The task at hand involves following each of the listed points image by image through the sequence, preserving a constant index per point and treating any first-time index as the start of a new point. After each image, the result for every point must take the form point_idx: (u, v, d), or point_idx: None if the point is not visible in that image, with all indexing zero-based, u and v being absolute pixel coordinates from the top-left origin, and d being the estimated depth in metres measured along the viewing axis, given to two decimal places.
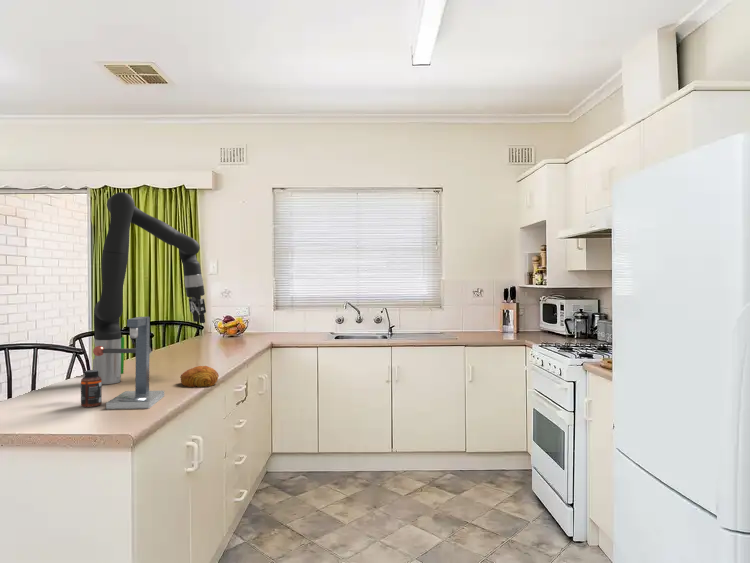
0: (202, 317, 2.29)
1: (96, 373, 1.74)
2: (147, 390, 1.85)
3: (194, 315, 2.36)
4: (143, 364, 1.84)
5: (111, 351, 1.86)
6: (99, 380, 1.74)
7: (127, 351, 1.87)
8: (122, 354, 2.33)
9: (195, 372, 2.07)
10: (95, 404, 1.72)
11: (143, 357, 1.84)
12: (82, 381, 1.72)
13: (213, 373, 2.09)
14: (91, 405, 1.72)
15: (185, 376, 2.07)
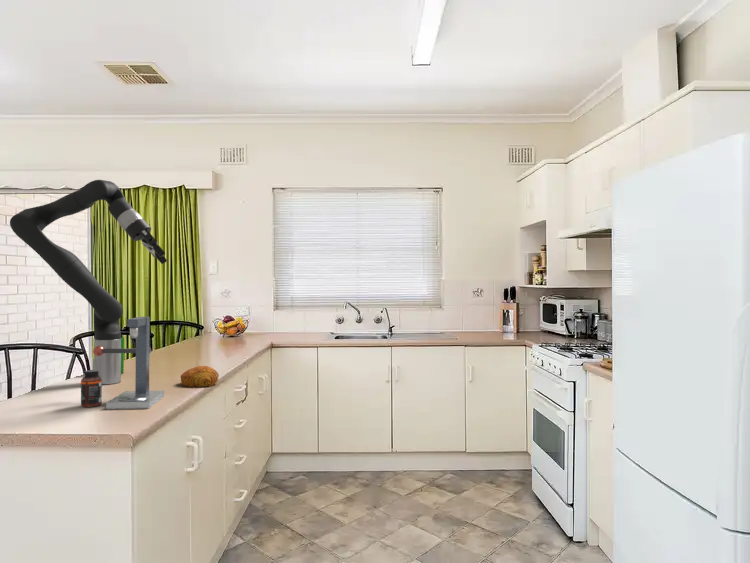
0: (157, 248, 1.87)
1: (96, 373, 1.74)
2: (147, 390, 1.85)
3: (158, 257, 1.95)
4: (143, 364, 1.84)
5: (111, 351, 1.86)
6: (99, 380, 1.74)
7: (127, 351, 1.87)
8: (122, 354, 2.33)
9: (195, 372, 2.07)
10: (95, 404, 1.72)
11: (143, 357, 1.84)
12: (82, 381, 1.72)
13: (213, 373, 2.09)
14: (91, 405, 1.72)
15: (185, 376, 2.07)
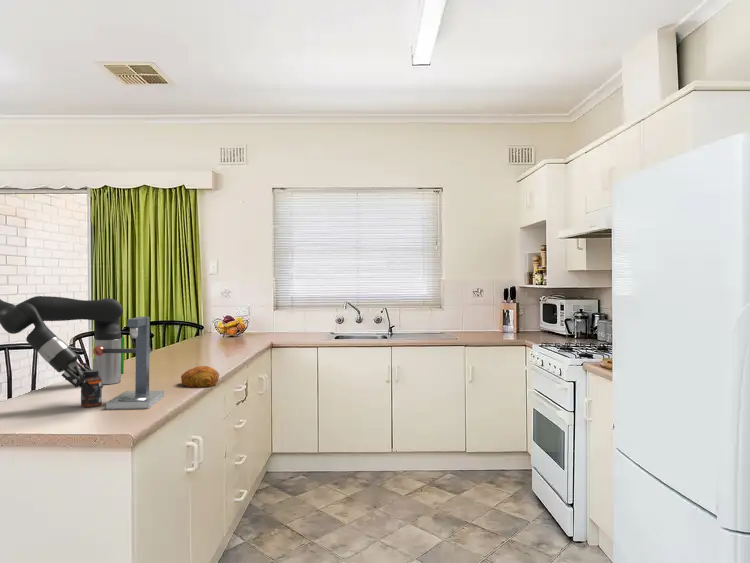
0: (85, 388, 1.70)
1: (96, 373, 1.74)
2: (147, 390, 1.85)
3: None
4: (143, 364, 1.84)
5: (111, 351, 1.86)
6: (99, 380, 1.74)
7: (127, 351, 1.87)
8: (122, 354, 2.33)
9: (196, 372, 2.07)
10: (95, 404, 1.72)
11: (143, 357, 1.84)
12: None
13: (214, 373, 2.09)
14: (91, 405, 1.72)
15: (186, 376, 2.07)
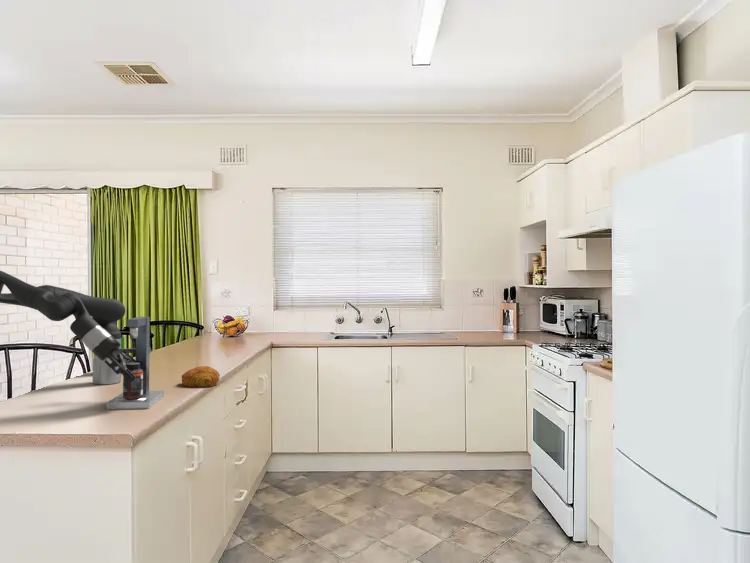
0: (126, 375, 1.71)
1: (138, 366, 1.75)
2: (147, 390, 1.85)
3: None
4: (143, 364, 1.84)
5: None
6: (141, 373, 1.75)
7: (127, 351, 1.87)
8: None
9: (196, 372, 2.07)
10: (137, 396, 1.74)
11: (143, 357, 1.84)
12: None
13: (214, 373, 2.09)
14: (133, 397, 1.73)
15: (186, 376, 2.06)
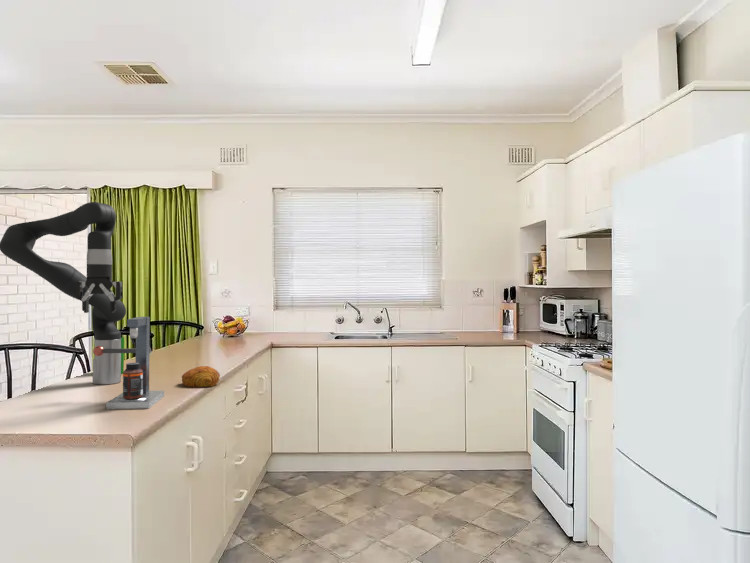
0: (115, 305, 1.79)
1: (138, 366, 1.75)
2: (147, 390, 1.85)
3: (86, 304, 1.77)
4: (143, 364, 1.84)
5: (111, 351, 1.86)
6: (141, 372, 1.75)
7: (127, 351, 1.87)
8: (122, 354, 2.33)
9: (196, 372, 2.07)
10: (137, 396, 1.74)
11: (143, 357, 1.84)
12: (124, 373, 1.73)
13: (214, 373, 2.09)
14: (133, 397, 1.73)
15: (186, 376, 2.06)
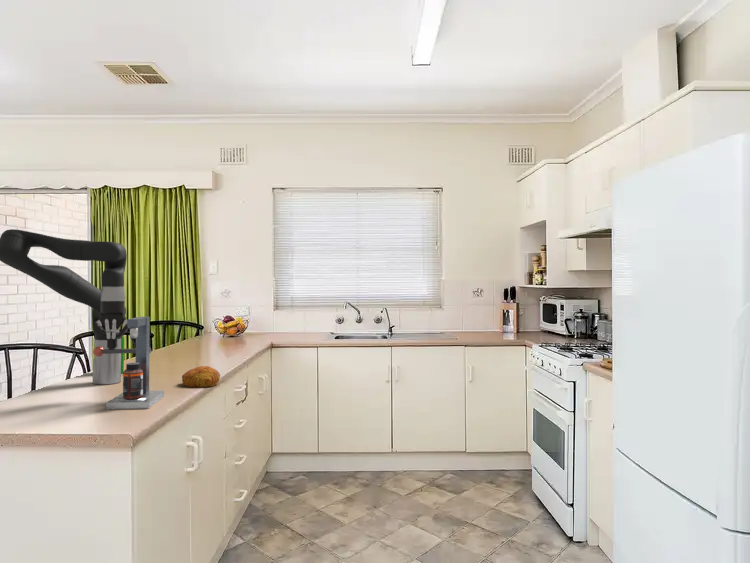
0: (116, 342, 1.87)
1: (138, 366, 1.75)
2: (147, 390, 1.85)
3: None
4: (143, 364, 1.84)
5: (111, 351, 1.86)
6: (141, 373, 1.75)
7: (127, 351, 1.87)
8: (122, 354, 2.33)
9: (196, 372, 2.07)
10: (137, 396, 1.74)
11: (143, 357, 1.84)
12: (125, 373, 1.73)
13: (214, 373, 2.09)
14: (133, 397, 1.73)
15: (186, 376, 2.06)
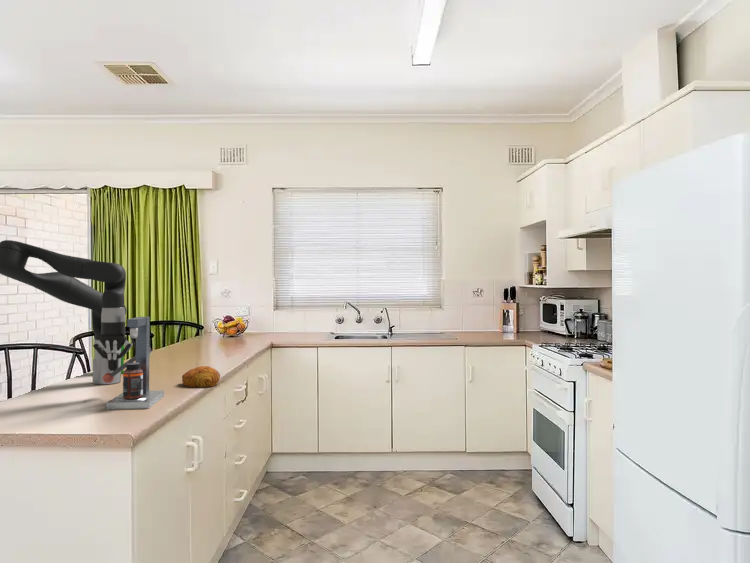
0: (117, 363, 1.87)
1: (138, 366, 1.75)
2: (147, 390, 1.85)
3: None
4: (143, 364, 1.84)
5: (118, 370, 1.87)
6: (141, 373, 1.75)
7: (131, 361, 1.87)
8: None
9: (196, 372, 2.07)
10: (137, 396, 1.74)
11: (143, 357, 1.84)
12: (125, 373, 1.73)
13: (214, 373, 2.09)
14: (133, 397, 1.73)
15: (186, 376, 2.06)
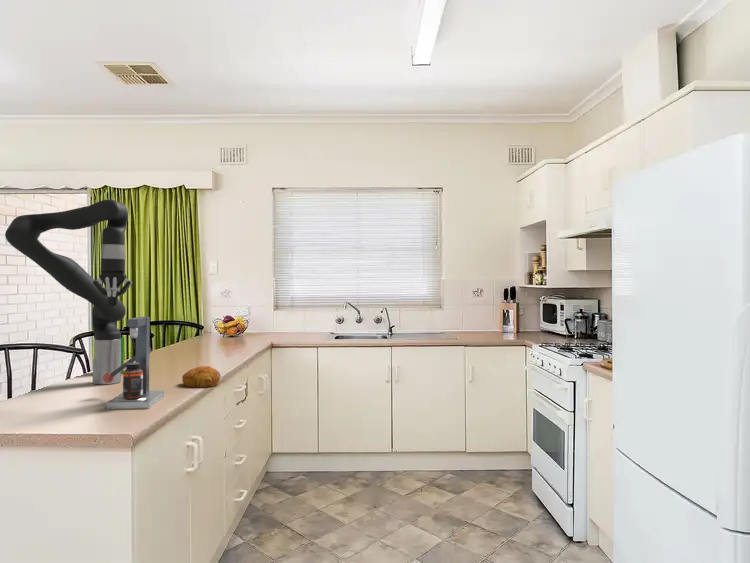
0: (117, 300, 1.87)
1: (138, 366, 1.75)
2: (147, 390, 1.85)
3: None
4: (143, 364, 1.84)
5: (118, 370, 1.87)
6: (141, 373, 1.75)
7: (131, 361, 1.87)
8: (122, 354, 2.33)
9: (197, 372, 2.07)
10: (137, 396, 1.74)
11: (143, 357, 1.84)
12: (125, 373, 1.73)
13: (215, 373, 2.09)
14: (133, 397, 1.73)
15: (187, 376, 2.06)
